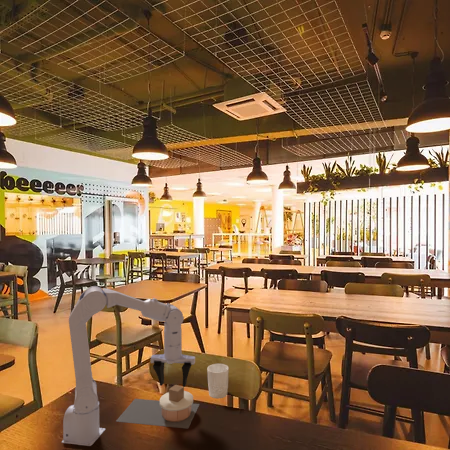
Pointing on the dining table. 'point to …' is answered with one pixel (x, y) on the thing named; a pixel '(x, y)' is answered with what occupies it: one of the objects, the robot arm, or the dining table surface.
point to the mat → (152, 414)
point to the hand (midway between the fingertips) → (173, 384)
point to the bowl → (176, 415)
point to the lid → (176, 399)
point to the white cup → (217, 380)
